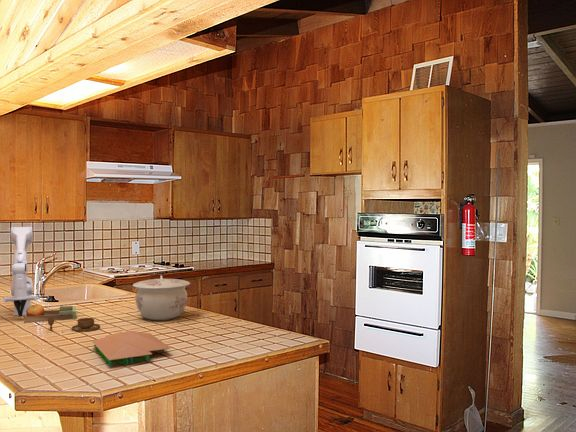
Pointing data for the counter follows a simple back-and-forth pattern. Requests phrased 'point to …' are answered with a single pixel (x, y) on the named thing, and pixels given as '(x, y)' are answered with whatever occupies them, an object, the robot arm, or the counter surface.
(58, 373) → the counter surface
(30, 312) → the fruit
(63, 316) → the chute
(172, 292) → the chamber pot
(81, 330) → the place setting
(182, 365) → the counter surface
